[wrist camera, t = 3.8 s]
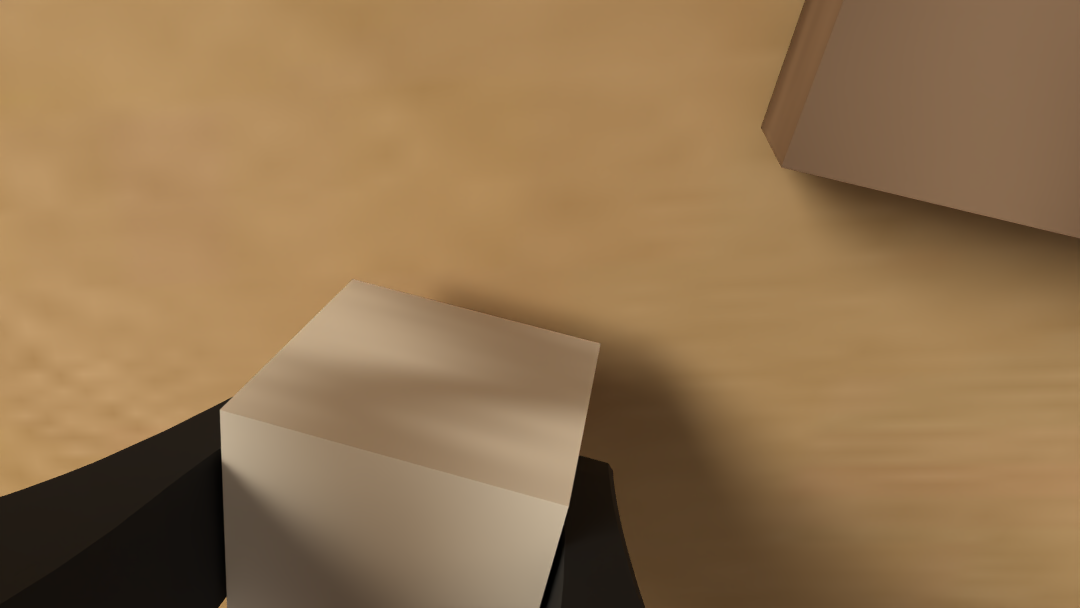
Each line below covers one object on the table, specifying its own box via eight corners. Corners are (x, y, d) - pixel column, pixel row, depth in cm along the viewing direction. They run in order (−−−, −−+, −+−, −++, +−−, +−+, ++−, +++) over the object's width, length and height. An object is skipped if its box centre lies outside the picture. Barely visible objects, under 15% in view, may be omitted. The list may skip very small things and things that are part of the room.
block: (600, 343, 12) (569, 506, 8) (549, 528, 14) (506, 721, 10) (352, 279, 12) (220, 410, 9) (339, 469, 14) (228, 637, 11)
